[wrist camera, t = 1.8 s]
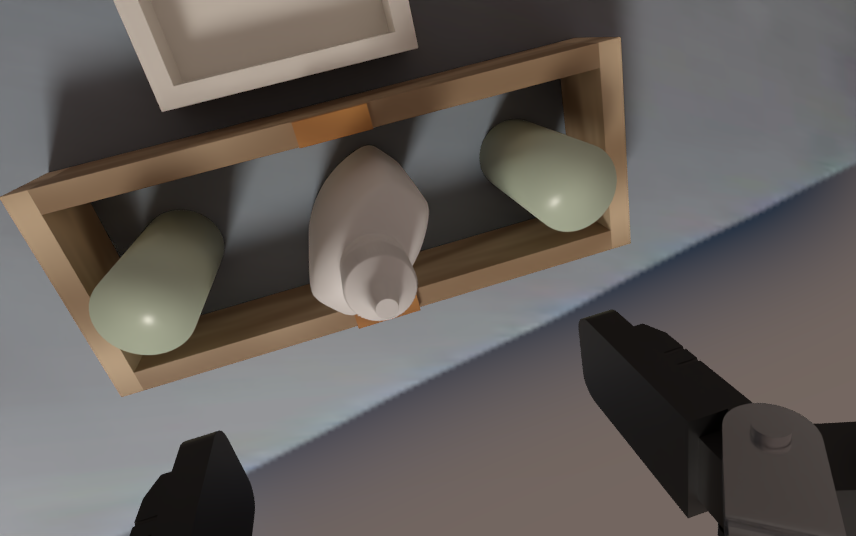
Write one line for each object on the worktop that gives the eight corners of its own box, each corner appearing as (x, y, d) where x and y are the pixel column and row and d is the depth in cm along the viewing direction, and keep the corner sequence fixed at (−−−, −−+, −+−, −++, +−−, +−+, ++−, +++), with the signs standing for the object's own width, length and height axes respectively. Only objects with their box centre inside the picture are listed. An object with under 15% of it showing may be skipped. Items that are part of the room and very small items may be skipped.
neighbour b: (473, 128, 26) (527, 156, 20) (540, 111, 26) (614, 132, 20) (485, 196, 27) (538, 242, 21) (548, 178, 28) (619, 218, 22)
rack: (47, 172, 23) (-6, 199, 19) (576, 37, 25) (624, 36, 21) (146, 349, 27) (119, 401, 23) (590, 218, 29) (634, 245, 25)
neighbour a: (130, 221, 24) (69, 284, 18) (207, 200, 25) (173, 255, 18) (163, 287, 26) (117, 366, 19) (235, 267, 26) (213, 338, 20)
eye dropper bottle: (421, 209, 27) (497, 320, 16) (326, 259, 27) (339, 403, 16) (384, 133, 25) (441, 201, 14) (281, 186, 25) (261, 296, 14)
